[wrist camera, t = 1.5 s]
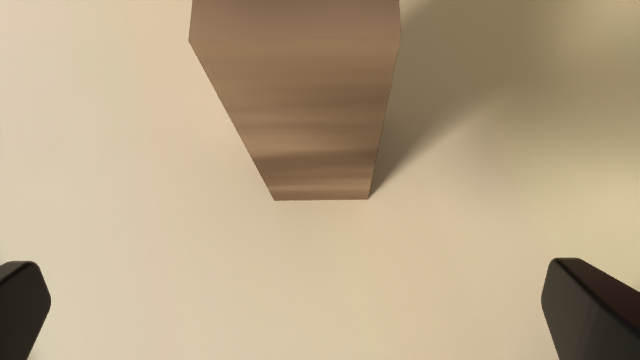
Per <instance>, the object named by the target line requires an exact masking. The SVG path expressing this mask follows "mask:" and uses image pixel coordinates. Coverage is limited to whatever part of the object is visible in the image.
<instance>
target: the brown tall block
mask: <svg viewBox="0 0 640 360" xmlns="http://www.w3.org/2000/svg"><path fill="white" fill-rule="evenodd" d="M400 38H401V25H400V9H399V0H193V1H192V11H191V21H190V31H189V43H190V44H191V46H192V48H193V50H194V52H195V54H196V56H197V57H198V59H199V61H200V63H201V65H202V67H203V69H204V70H205V72H206V74H207V76H208V78H209V80H210V82H211V84H212V85H213V87H214V89H215V91H216V93H217V95H218V97H219V98H220V100H221V102H222V104H223V106H224V108H225V110H226V111H227V113H228V115H229V117H230V119H231V121H232V123H233V124H234V126H235V128H236V130H237V132H238V134H239V136H240V137H241V139H242V141H243V143H244V145H245V147H246V149H247V150H248V152H249V154H250V156H251V158H252V160H253V162H254V163H255V165H256V167H257V169H258V171H259V173H260V175H261V176H262V178H263V180H264V182H265V184H266V186H267V188H268V189H269V191H270V193H271V195H272V197H273V199H274V201H279V200H361V199H368V196H369V191H370V186H371V181H372V176H373V171H374V166H375V161H376V156H377V151H378V146H379V141H380V136H381V132H382V127H383V122H384V117H385V112H386V107H387V102H388V97H389V92H390V87H391V82H392V77H393V72H394V67H395V63H396V58H397V53H398V48H399V43H400Z"/></svg>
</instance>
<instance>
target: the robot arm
mask: <svg viewBox="0 0 640 360" xmlns="http://www.w3.org/2000/svg"><path fill="white" fill-rule="evenodd" d="M541 304H542V309H543V312H544V315H545V318H546V321H547V324H548V327H549V330H550V333H551V336H552V339H553V342H554V345H555V348H556V351H557V354H558V357H559V360H640V292H638V291H637V290H635V289H633V288H631V287H630V286H628V285H626V284H624V283H622V282H621V281H619V280H617V279H615V278H614V277H612V276H610V275H608V274H606V273H605V272H603V271H601V270H599V269H597V268H596V267H594V266H592V265H590V264H589V263H587V262H585V261H583V260H581V259H579V258H555V259H553V260H551V262H550V264H549V266H548V270H547V275H546V279H545V283H544V287H543V291H542V296H541ZM50 306H51V296H50V293H49V291H48V288H47V286H46V283H45V281H44V278H43V275H42V273H41V270H40V268H39V266H38V265H37V264H36V263H35V262H32V261H11V262H7V263H5V264H3V265H0V360H27V359H28V356H29V354H30V352H31V350H32V348H33V345H34V343H35V341H36V339H37V337H38V334H39V332H40V330H41V328H42V326H43V323H44V321H45V319H46V317H47V315H48V312H49V310H50Z"/></svg>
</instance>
